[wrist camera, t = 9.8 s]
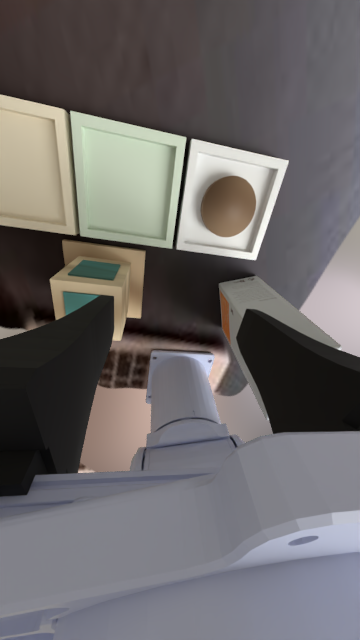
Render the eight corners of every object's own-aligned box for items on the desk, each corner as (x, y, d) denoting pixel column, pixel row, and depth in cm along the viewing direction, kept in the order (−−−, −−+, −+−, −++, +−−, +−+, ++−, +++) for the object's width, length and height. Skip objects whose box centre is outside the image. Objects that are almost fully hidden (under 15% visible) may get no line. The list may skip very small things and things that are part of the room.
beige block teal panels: (129, 306, 21) (120, 341, 16) (82, 301, 21) (57, 337, 15) (131, 261, 19) (121, 286, 14) (78, 254, 18) (48, 277, 13)
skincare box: (216, 282, 22) (271, 359, 11) (256, 274, 22) (347, 344, 11) (220, 329, 25) (265, 423, 15) (255, 322, 25) (325, 411, 15)
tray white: (250, 257, 21) (255, 260, 20) (175, 246, 19) (176, 249, 18) (280, 163, 17) (288, 160, 16) (189, 142, 16) (191, 138, 15)
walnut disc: (242, 238, 19) (246, 240, 18) (196, 231, 18) (198, 233, 18) (258, 182, 17) (263, 181, 16) (206, 171, 16) (209, 170, 15)
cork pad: (141, 315, 23) (140, 318, 22) (72, 309, 22) (70, 312, 21) (145, 250, 19) (145, 251, 19) (64, 239, 18) (61, 240, 18)
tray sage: (171, 245, 19) (171, 248, 18) (84, 233, 18) (80, 236, 17) (184, 141, 16) (186, 137, 15) (76, 116, 14) (70, 110, 13)
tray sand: (79, 233, 18) (75, 235, 17) (-21, 219, 17) (-32, 220, 16) (70, 115, 14) (63, 109, 13) (-60, 85, 13) (-79, 76, 12)
